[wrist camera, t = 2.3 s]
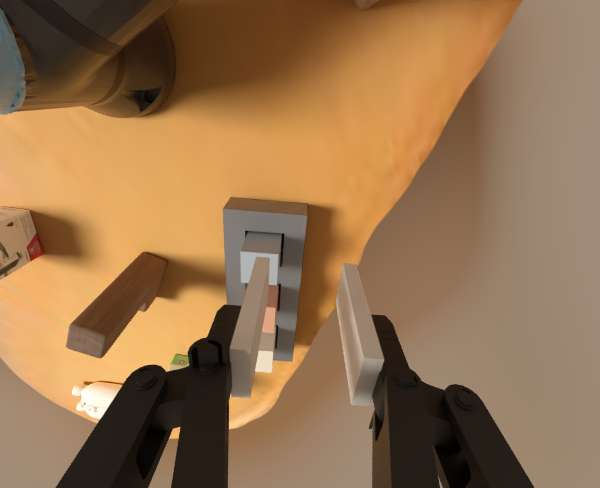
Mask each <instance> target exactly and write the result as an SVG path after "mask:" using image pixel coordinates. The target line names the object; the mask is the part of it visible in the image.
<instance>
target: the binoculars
mask: <svg viewBox="0 0 600 488" xmlns="http://www.w3.org/2000/svg"><path fill="white" fill-rule="evenodd" d="M121 387H122V385H121V384H114V383H106V382H95V383H92V384H90V385H85V384H84V385H83V384H76V385H75V387H74V388H73V391H72V395H78V396H82V398H81V401H80V402H79V403H78V405H77V408H76V410H77V411H83V412H85V411H86V413H87V414H88V415H90V416H91V417H93V418H98V419H101V418H102V416H103V414H104V413H105V411H106V410H107V408H108V407H109V405H110V404H111V402H112V401H113V399H114V398H115V396H116V395H117V393H118V391H119V390H120V388H121Z"/></svg>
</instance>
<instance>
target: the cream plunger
mask: <svg viewBox="0 0 600 488" xmlns="http://www.w3.org/2000/svg"><path fill="white" fill-rule="evenodd" d="M275 341H276V325H275V330H274V333H264V332H262V334H261V340H260V346H259V351H258V357H257V363H256V368H255V372H269V373H272V367H273V359H274V350H275Z"/></svg>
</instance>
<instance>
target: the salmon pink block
mask: <svg viewBox="0 0 600 488" xmlns="http://www.w3.org/2000/svg"><path fill="white" fill-rule="evenodd" d="M247 287H248V284H247ZM247 287H246V290H247ZM278 293H279V283H277V285H269V288H268V300H267V306H266V311H265V317H264V323H263V329H262V332H264V333H274V330H275V322H276V314H277V306H278ZM245 294H246V291H245ZM245 294H244V297H245ZM244 297H243V300H244ZM242 304H243V301H242ZM242 304H241V306H242Z"/></svg>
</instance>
